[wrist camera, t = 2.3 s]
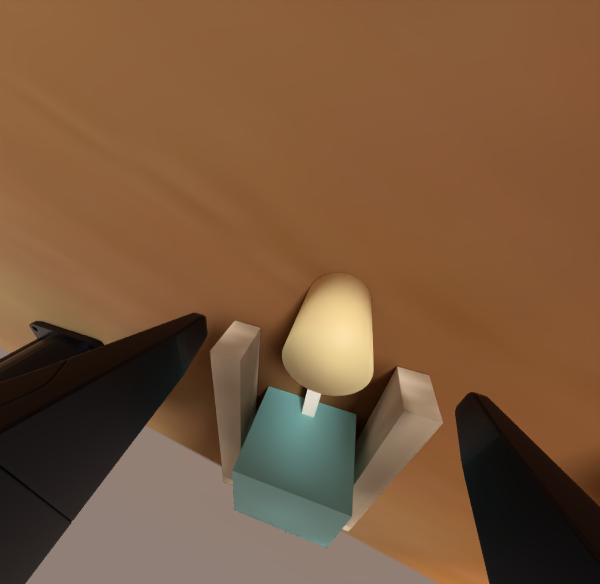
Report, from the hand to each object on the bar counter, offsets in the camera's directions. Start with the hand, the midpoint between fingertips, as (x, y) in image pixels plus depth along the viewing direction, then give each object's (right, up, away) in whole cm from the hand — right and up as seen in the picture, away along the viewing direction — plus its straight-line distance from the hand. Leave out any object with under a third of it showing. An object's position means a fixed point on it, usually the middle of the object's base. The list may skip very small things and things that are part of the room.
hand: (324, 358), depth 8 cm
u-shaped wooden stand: (0, -7, +9) cm, 11 cm away
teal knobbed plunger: (0, -3, +6) cm, 7 cm away
